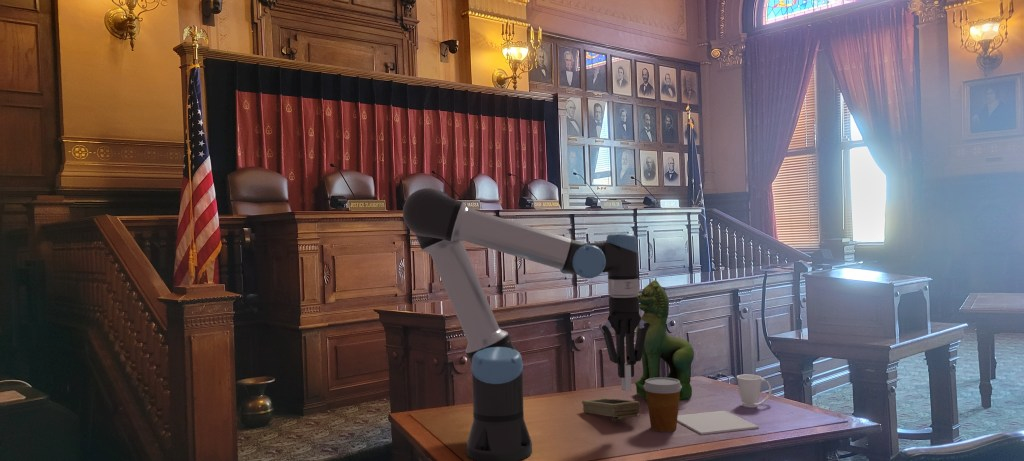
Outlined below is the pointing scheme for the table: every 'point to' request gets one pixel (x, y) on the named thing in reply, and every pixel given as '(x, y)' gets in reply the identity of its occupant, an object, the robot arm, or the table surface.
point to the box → (612, 408)
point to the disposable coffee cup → (663, 403)
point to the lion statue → (662, 343)
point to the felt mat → (714, 422)
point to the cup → (751, 389)
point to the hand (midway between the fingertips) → (626, 390)
